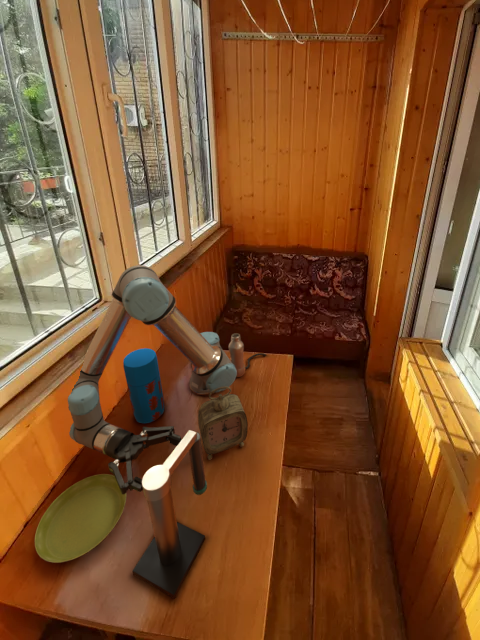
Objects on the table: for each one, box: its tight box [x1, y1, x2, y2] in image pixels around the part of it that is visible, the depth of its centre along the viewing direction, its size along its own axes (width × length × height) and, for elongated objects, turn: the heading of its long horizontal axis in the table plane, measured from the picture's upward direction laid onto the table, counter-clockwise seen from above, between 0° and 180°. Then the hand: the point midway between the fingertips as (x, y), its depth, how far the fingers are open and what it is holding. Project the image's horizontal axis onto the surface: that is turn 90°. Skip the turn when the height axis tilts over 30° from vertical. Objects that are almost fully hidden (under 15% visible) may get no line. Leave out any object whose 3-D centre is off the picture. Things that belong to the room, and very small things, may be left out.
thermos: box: [122, 347, 165, 424], centre depth 114 cm, size 11×11×25 cm
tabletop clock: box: [197, 386, 249, 461], centre depth 101 cm, size 14×9×25 cm, turn 115°
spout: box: [141, 429, 208, 501], centre depth 76 cm, size 18×6×22 cm, turn 160°
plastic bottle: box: [228, 332, 246, 378], centre depth 134 cm, size 6×7×20 cm
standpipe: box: [132, 488, 206, 600], centre depth 73 cm, size 12×12×24 cm
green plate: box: [34, 473, 127, 564], centre depth 83 cm, size 21×21×3 cm
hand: (172, 466), depth 87 cm, fingers open, 13 cm apart
